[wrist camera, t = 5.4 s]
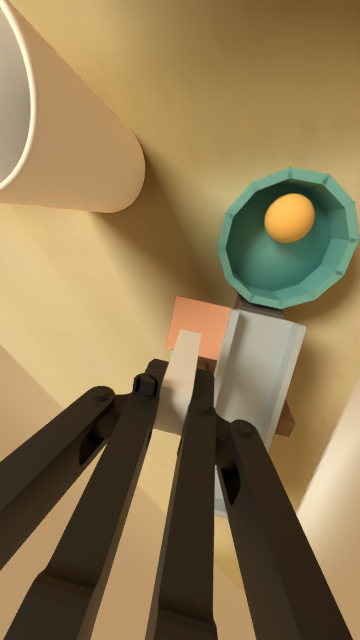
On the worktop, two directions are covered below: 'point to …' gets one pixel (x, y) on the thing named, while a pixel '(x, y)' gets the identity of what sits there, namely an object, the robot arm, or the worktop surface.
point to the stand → (285, 418)
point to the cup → (58, 130)
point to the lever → (242, 363)
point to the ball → (289, 218)
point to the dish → (288, 258)
